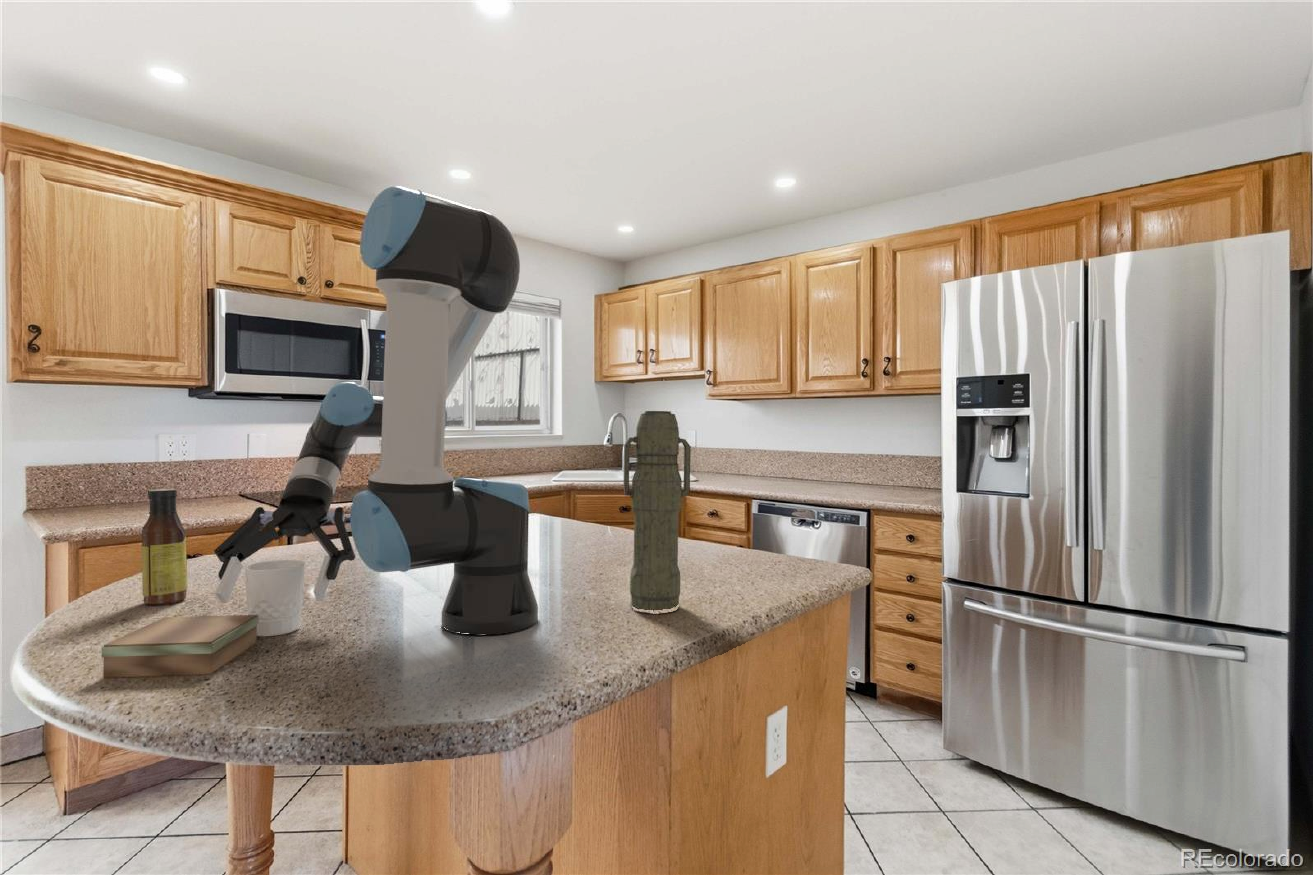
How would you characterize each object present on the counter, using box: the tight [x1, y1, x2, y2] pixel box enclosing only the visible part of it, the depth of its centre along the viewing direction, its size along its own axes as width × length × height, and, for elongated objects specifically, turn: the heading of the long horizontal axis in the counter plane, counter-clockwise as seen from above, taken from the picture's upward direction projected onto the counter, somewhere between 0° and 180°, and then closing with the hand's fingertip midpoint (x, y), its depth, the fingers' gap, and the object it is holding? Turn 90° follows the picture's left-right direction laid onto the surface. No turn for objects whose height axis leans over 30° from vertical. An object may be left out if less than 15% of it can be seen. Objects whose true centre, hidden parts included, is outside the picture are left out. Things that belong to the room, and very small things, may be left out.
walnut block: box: [101, 614, 259, 679], centre depth 84 cm, size 12×12×4 cm
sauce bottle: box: [141, 488, 188, 606], centre depth 112 cm, size 7×6×20 cm
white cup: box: [244, 559, 306, 637], centre depth 97 cm, size 8×8×10 cm
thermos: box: [623, 410, 692, 611], centre depth 113 cm, size 9×12×35 cm
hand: (270, 597), depth 95 cm, fingers open, 13 cm apart
